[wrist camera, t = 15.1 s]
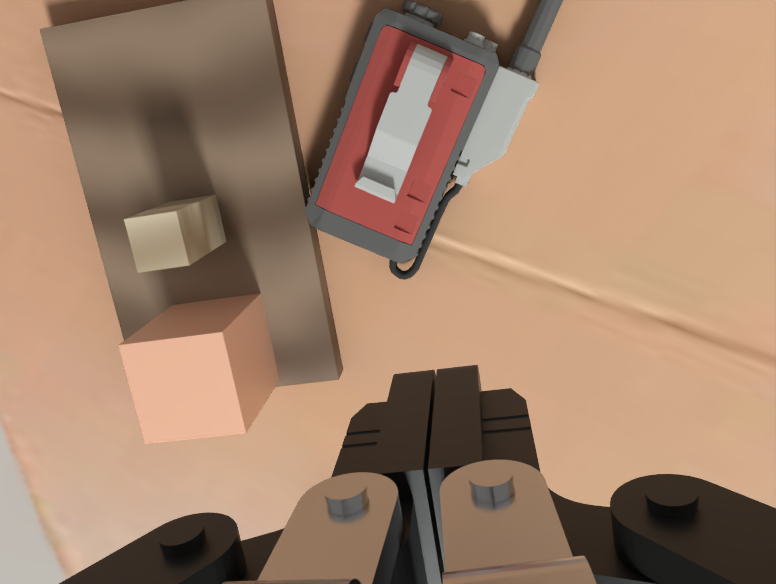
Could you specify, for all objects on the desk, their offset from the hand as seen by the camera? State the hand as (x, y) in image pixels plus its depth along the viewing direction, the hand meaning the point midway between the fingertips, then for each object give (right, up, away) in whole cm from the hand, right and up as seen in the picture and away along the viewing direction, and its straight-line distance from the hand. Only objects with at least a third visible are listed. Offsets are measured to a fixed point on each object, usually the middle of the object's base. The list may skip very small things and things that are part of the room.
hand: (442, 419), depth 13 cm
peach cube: (-10, -1, +28) cm, 30 cm away
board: (-11, +7, +27) cm, 30 cm away
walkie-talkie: (+2, +13, +25) cm, 28 cm away
